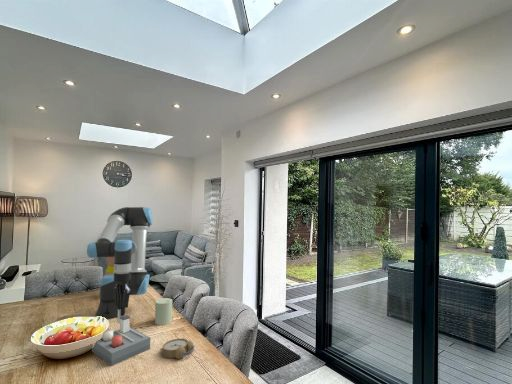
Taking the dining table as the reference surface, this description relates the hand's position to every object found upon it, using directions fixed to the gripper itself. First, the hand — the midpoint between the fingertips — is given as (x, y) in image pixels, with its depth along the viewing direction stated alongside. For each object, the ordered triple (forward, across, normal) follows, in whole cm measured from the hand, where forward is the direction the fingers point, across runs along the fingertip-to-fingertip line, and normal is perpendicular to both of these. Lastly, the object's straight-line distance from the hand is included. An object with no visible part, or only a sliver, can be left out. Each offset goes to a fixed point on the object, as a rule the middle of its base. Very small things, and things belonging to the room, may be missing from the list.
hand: (120, 321), depth 132 cm
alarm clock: (+9, +30, +11) cm, 34 cm away
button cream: (+5, +4, -8) cm, 10 cm away
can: (+9, -3, +26) cm, 27 cm away
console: (+9, +8, -4) cm, 13 cm away
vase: (+9, -70, +33) cm, 77 cm away
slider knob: (+4, +3, 0) cm, 5 cm away
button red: (+5, +12, -8) cm, 15 cm away
